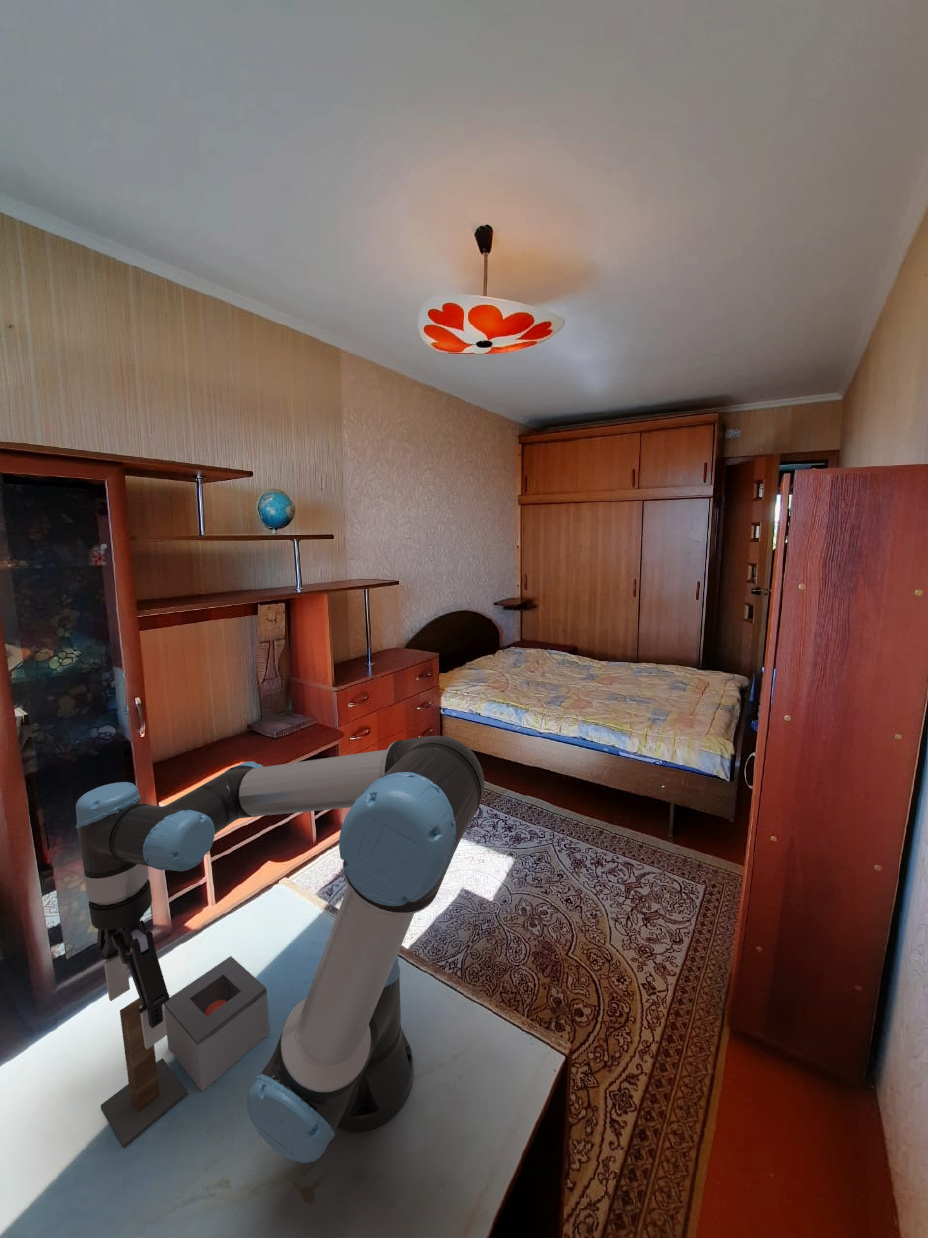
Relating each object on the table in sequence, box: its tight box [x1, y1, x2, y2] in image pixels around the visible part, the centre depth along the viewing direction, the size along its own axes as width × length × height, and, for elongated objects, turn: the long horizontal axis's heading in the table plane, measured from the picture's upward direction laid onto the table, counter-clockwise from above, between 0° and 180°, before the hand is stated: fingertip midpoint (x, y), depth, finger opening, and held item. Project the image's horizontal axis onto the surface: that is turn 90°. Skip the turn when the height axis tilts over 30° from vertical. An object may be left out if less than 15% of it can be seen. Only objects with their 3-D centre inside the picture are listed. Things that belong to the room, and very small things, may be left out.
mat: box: [100, 1057, 189, 1149], centre depth 78 cm, size 9×9×1 cm
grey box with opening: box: [163, 955, 271, 1092], centre depth 87 cm, size 12×12×9 cm
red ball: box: [205, 1000, 227, 1017], centre depth 87 cm, size 4×4×4 cm
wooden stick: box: [119, 997, 160, 1113], centre depth 77 cm, size 3×3×16 cm
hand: (136, 1016), depth 76 cm, fingers open, 13 cm apart
